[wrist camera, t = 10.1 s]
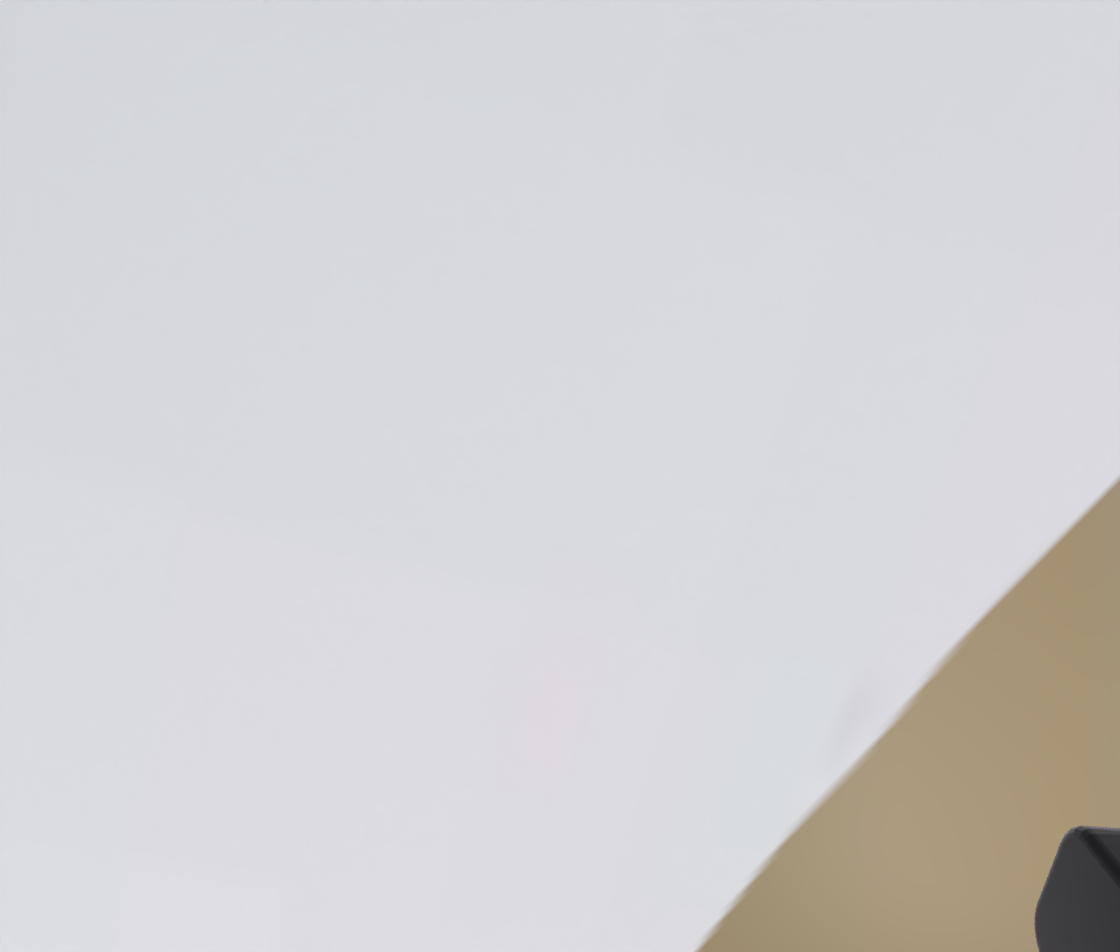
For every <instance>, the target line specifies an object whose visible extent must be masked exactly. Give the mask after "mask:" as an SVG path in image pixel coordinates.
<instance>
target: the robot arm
mask: <svg viewBox="0 0 1120 952" xmlns="http://www.w3.org/2000/svg"><path fill="white" fill-rule="evenodd" d="M1035 934H1036V940H1037V945H1038V949H1039V952H1120V828H1107V827H1094V826H1093V827H1092V826H1077V827H1073V828H1072V829H1070V830H1069V831H1068V832H1067V833H1066V834H1065V835H1064V837H1063V839H1062V841H1061V843H1060V846H1059V849H1058V851H1057V854H1056V856H1055V859H1054V861H1053V864H1052V867H1051V869H1050V872H1049V874H1048V877H1047V880H1046V882H1045V885H1044V887H1043V890H1042V892H1041V895H1040V898H1039V900H1038V903H1037V907H1036V912H1035Z"/></svg>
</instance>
